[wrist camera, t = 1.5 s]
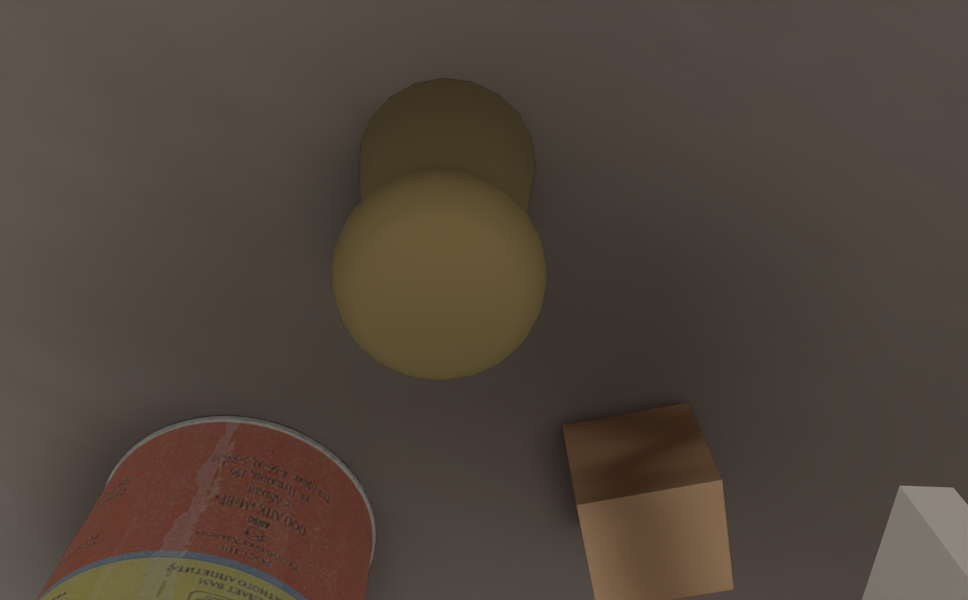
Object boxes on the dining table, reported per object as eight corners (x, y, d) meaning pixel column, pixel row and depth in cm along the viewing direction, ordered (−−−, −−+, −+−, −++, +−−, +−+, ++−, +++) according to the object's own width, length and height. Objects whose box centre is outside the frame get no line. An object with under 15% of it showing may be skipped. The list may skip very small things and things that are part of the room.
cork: (503, 51, 27) (523, 137, 17) (557, 218, 30) (603, 377, 20) (330, 113, 28) (256, 229, 18) (397, 271, 31) (364, 449, 21)
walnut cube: (687, 401, 33) (721, 479, 29) (699, 501, 35) (733, 589, 31) (561, 423, 34) (576, 505, 29) (581, 521, 36) (597, 611, 31)
